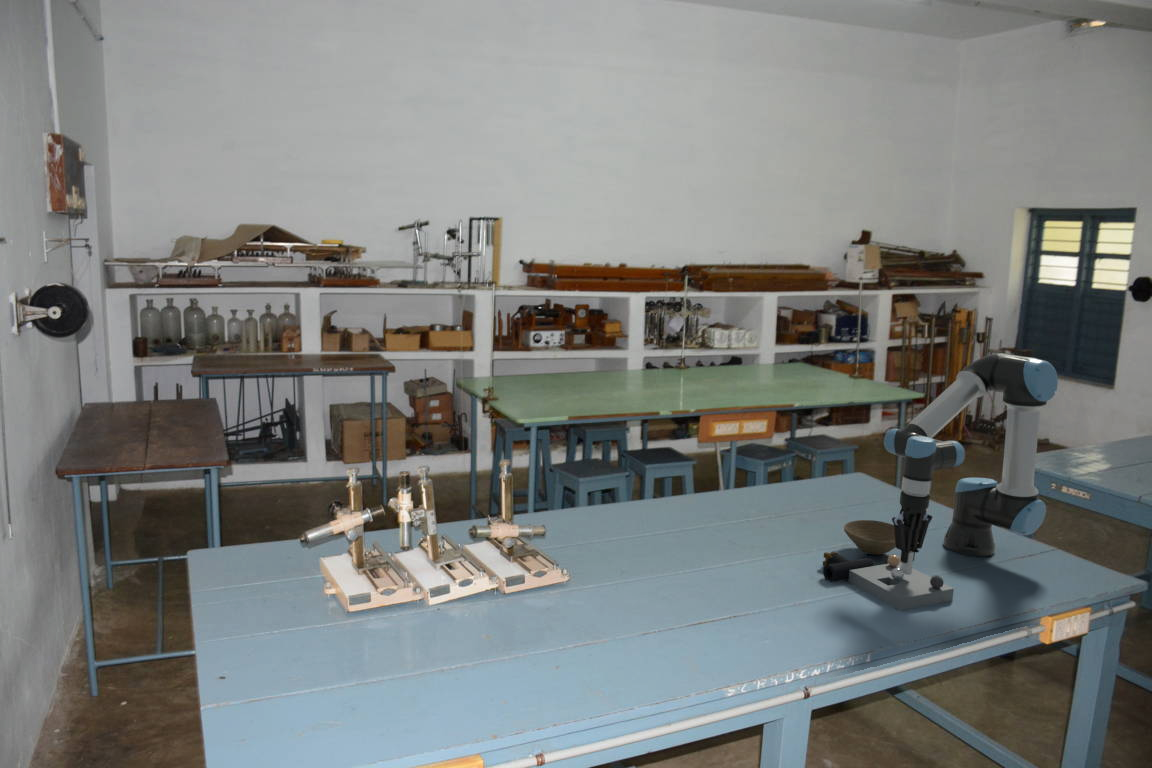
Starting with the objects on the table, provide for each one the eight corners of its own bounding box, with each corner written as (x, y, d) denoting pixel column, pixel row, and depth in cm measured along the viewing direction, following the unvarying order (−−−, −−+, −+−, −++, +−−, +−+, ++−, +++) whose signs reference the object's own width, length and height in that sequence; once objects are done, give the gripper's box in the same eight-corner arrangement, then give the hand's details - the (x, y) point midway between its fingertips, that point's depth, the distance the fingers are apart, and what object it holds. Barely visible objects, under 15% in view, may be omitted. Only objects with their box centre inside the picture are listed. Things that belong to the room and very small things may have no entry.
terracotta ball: (893, 563, 252) (894, 552, 252) (901, 567, 249) (903, 556, 249) (884, 564, 251) (885, 553, 250) (892, 569, 248) (894, 558, 247)
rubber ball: (935, 584, 238) (937, 573, 237) (945, 589, 235) (947, 577, 234) (926, 586, 237) (928, 574, 236) (936, 591, 234) (937, 579, 233)
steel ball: (886, 575, 241) (894, 578, 242) (895, 580, 238) (903, 583, 239) (891, 564, 241) (899, 567, 242) (900, 569, 238) (908, 572, 239)
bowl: (838, 557, 264) (841, 533, 263) (844, 538, 281) (846, 515, 280) (902, 568, 258) (905, 543, 256) (904, 548, 275) (907, 524, 273)
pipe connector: (809, 553, 254) (848, 546, 260) (807, 569, 255) (847, 563, 261) (836, 568, 244) (876, 561, 250) (834, 585, 245) (874, 578, 251)
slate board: (898, 572, 254) (899, 561, 254) (952, 600, 237) (953, 588, 236) (848, 581, 247) (849, 570, 246) (900, 610, 229) (901, 598, 228)
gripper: (922, 486, 243) (912, 565, 247) (887, 490, 238) (878, 570, 242) (943, 494, 236) (933, 575, 241) (908, 498, 231) (898, 581, 235)
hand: (905, 572), depth 241 cm, fingers closed
